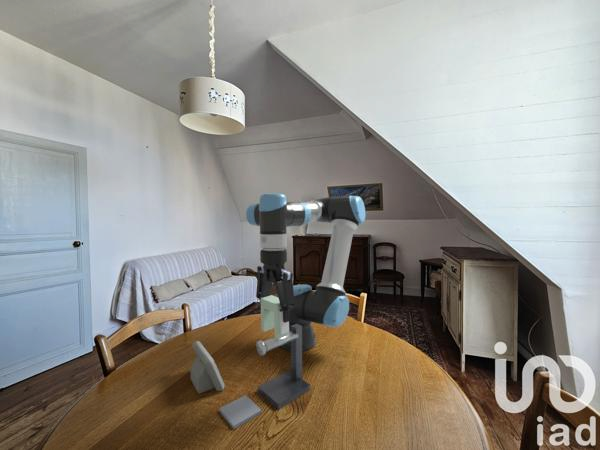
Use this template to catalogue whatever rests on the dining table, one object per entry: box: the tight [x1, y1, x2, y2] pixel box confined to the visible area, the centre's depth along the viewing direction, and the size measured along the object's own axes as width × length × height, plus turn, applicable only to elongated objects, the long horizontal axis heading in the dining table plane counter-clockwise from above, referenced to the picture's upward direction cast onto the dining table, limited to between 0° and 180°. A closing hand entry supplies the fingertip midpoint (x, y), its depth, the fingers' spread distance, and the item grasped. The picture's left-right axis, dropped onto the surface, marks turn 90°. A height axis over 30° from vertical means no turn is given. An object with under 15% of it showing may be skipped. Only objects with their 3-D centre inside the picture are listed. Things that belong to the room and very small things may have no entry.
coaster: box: [218, 394, 262, 430], centre depth 70 cm, size 8×8×1 cm
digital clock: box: [189, 340, 225, 394], centre depth 83 cm, size 16×9×11 cm, turn 25°
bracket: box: [260, 294, 289, 339], centre depth 75 cm, size 8×4×10 cm, turn 42°
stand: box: [255, 324, 311, 410], centre depth 77 cm, size 10×14×18 cm
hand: (274, 327), depth 76 cm, fingers closed on bracket, 8 cm apart
